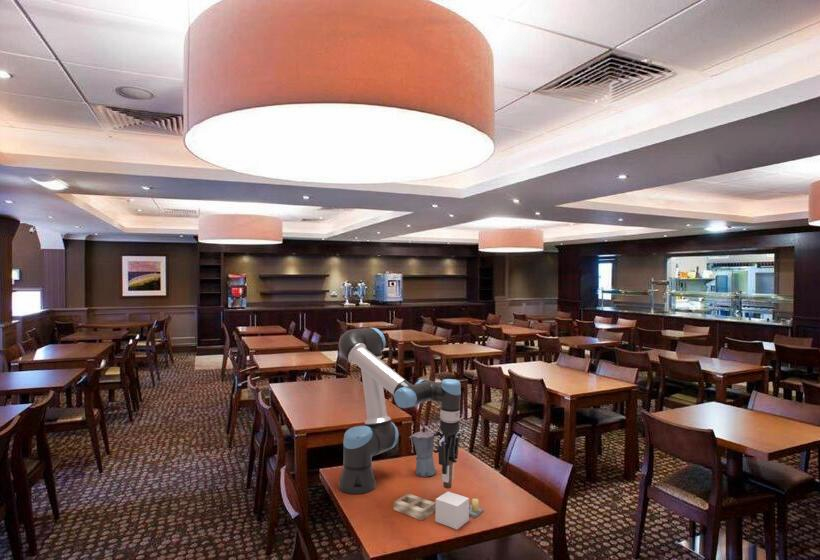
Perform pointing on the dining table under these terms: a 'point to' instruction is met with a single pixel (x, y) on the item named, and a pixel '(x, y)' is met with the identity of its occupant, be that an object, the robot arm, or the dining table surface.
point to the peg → (449, 484)
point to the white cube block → (452, 510)
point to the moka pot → (424, 452)
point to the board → (475, 508)
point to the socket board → (415, 506)
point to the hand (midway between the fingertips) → (447, 479)
